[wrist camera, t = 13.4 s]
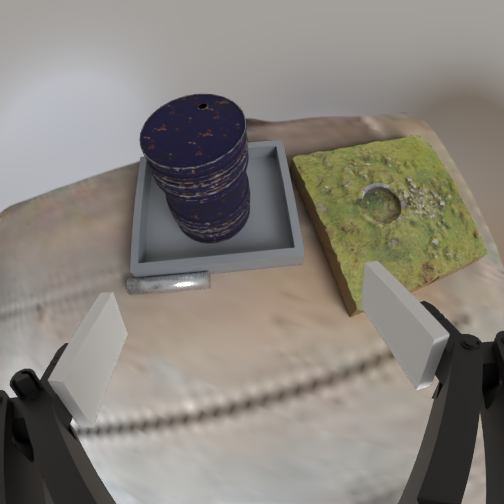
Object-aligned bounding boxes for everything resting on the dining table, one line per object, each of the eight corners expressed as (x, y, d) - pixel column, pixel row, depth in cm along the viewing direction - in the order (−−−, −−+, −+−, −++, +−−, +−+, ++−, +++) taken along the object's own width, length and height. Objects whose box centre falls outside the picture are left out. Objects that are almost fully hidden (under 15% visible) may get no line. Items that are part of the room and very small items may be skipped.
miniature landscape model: (477, 262, 36) (496, 249, 31) (347, 318, 34) (361, 310, 29) (414, 147, 44) (425, 128, 39) (288, 171, 42) (291, 148, 37)
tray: (139, 279, 36) (129, 272, 33) (146, 169, 42) (140, 157, 39) (301, 264, 36) (304, 255, 33) (281, 154, 42) (282, 140, 40)
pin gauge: (125, 280, 34) (130, 276, 36) (128, 296, 34) (133, 292, 36) (207, 273, 34) (208, 269, 36) (209, 290, 34) (211, 286, 36)
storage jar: (238, 253, 36) (227, 179, 22) (164, 235, 37) (119, 162, 23) (259, 185, 40) (259, 99, 26) (190, 172, 41) (166, 90, 27)
